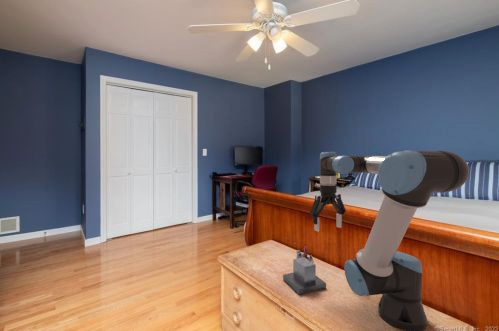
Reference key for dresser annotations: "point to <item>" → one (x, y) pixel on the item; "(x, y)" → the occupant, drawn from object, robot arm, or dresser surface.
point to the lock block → (304, 270)
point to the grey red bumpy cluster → (304, 255)
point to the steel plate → (302, 288)
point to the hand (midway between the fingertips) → (328, 229)
